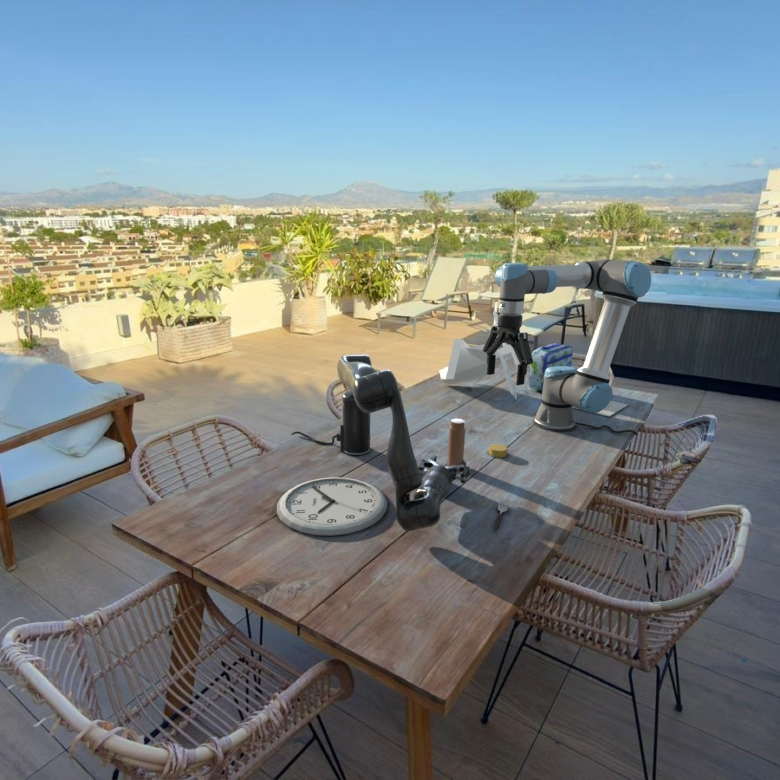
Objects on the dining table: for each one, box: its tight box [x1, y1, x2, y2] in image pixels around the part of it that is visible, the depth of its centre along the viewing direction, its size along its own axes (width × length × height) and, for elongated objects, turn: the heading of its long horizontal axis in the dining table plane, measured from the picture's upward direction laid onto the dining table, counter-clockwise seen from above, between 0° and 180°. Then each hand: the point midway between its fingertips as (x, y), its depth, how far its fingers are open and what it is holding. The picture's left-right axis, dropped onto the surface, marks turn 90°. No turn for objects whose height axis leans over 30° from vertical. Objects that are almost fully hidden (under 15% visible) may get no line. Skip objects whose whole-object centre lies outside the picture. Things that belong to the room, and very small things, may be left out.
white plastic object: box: [438, 310, 531, 400], centre depth 245 cm, size 37×45×31 cm
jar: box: [447, 418, 466, 470], centre depth 165 cm, size 5×5×16 cm
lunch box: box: [528, 343, 574, 392], centre depth 249 cm, size 26×11×21 cm, turn 134°
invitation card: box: [573, 400, 629, 418], centre depth 226 cm, size 21×1×15 cm
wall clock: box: [276, 476, 388, 537], centre depth 142 cm, size 30×2×30 cm
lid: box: [488, 443, 508, 458], centre depth 177 cm, size 6×6×2 cm
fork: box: [494, 496, 510, 532], centre depth 138 cm, size 3×16×2 cm, turn 160°
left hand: (449, 460), depth 156 cm, fingers open, 8 cm apart
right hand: (504, 379), depth 170 cm, fingers open, 13 cm apart
